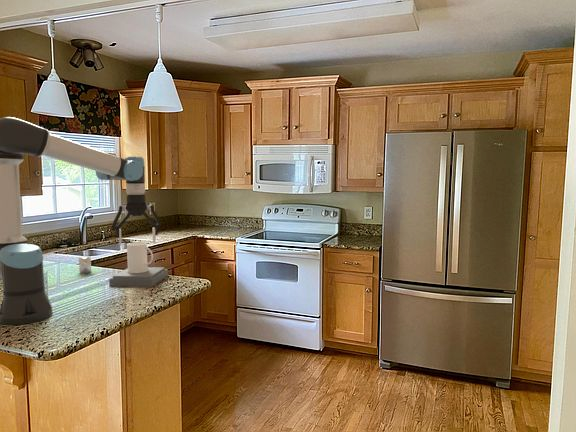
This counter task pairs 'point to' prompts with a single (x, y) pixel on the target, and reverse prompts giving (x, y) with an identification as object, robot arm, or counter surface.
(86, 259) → the spice tin
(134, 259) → the mug
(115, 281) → the podium
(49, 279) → the counter surface
